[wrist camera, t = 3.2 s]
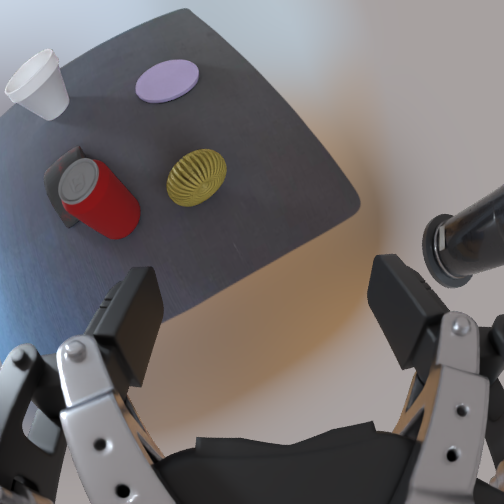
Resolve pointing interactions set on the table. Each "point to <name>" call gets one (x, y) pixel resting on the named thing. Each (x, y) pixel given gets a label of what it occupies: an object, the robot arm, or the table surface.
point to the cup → (39, 86)
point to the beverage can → (98, 198)
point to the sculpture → (196, 177)
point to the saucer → (167, 81)
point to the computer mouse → (53, 179)
